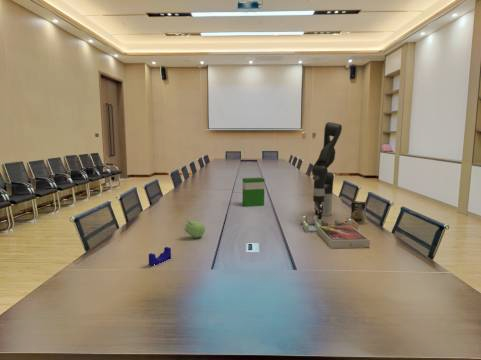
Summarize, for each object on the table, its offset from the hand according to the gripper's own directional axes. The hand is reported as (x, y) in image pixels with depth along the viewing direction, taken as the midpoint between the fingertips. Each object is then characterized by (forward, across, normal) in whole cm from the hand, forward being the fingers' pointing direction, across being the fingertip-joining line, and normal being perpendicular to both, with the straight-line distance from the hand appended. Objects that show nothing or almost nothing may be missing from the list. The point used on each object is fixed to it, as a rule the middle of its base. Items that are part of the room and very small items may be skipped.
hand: (318, 217), depth 230 cm
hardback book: (+4, +64, +42) cm, 77 cm away
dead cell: (+4, -11, -18) cm, 22 cm away
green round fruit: (+6, -28, +82) cm, 87 cm away
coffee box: (+6, +2, -28) cm, 29 cm away
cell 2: (+5, +1, 0) cm, 5 cm away
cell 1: (+5, +2, +10) cm, 11 cm away
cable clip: (+7, -66, +94) cm, 115 cm away
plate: (+3, -11, -6) cm, 13 cm away
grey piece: (+6, -11, -6) cm, 14 cm away
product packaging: (+7, -31, -7) cm, 33 cm away
